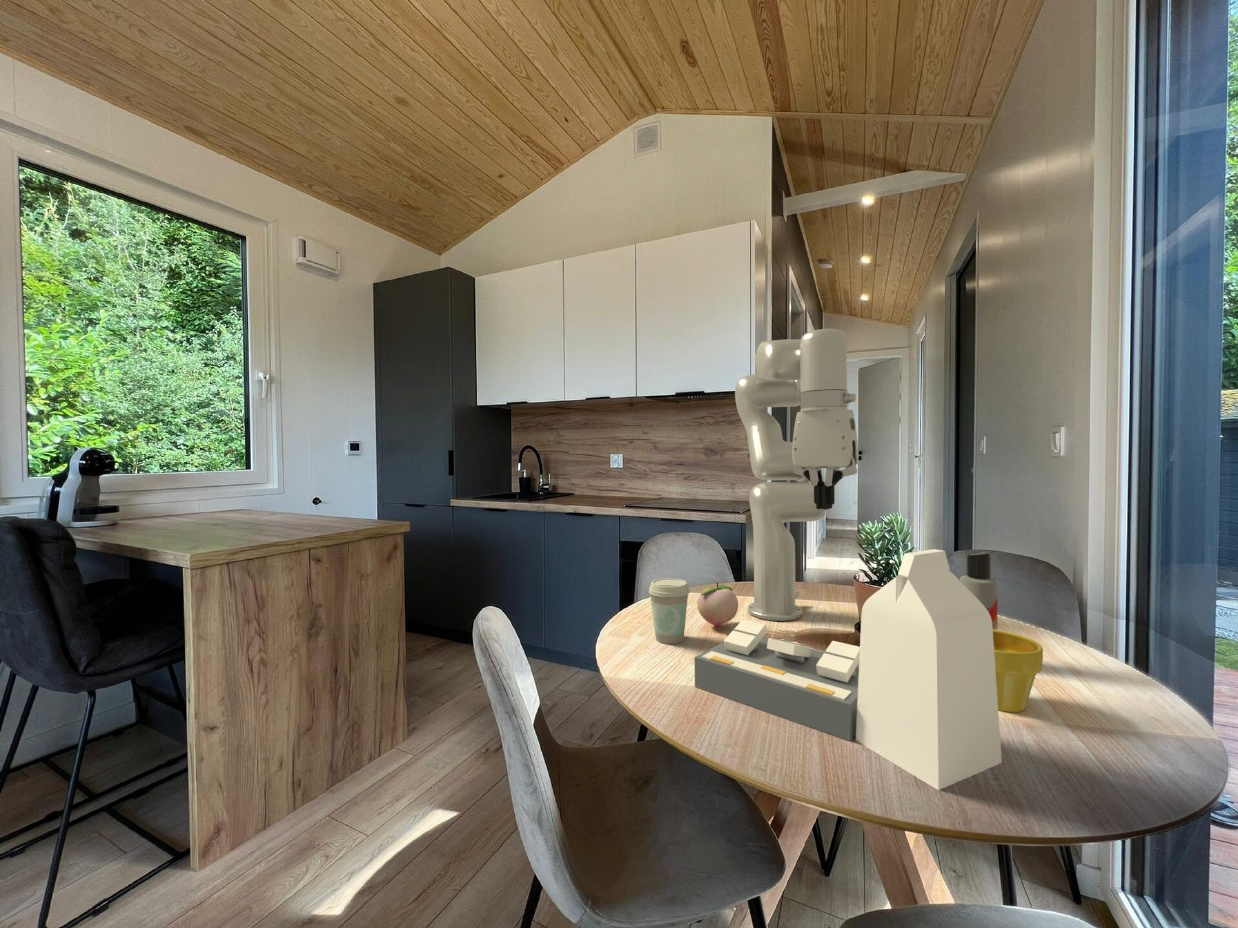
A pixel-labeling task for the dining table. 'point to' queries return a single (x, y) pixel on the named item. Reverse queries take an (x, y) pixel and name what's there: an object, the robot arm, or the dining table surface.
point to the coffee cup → (669, 609)
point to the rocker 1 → (745, 637)
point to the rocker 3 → (839, 661)
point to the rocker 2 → (789, 647)
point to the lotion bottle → (982, 583)
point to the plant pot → (1015, 669)
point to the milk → (928, 674)
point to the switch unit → (781, 686)
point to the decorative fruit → (717, 605)
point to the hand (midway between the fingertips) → (824, 508)
